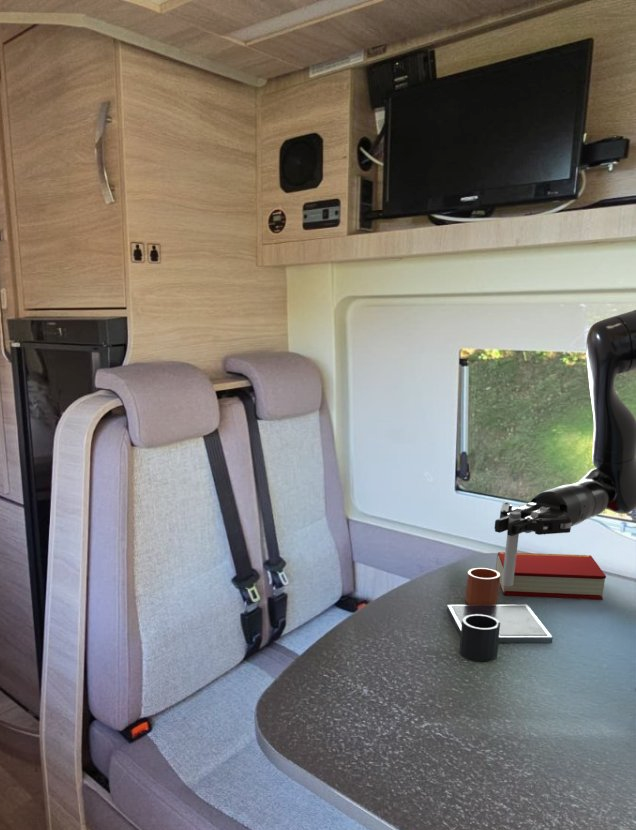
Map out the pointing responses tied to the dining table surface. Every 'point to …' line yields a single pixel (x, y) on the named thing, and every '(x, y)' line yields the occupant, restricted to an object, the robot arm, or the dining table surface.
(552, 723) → the dining table surface
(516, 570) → the book
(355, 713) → the dining table surface
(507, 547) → the stylus
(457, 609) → the tablet
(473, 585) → the pen cup
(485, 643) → the holder
